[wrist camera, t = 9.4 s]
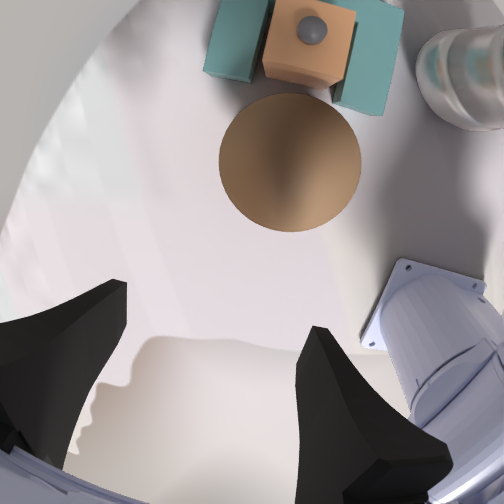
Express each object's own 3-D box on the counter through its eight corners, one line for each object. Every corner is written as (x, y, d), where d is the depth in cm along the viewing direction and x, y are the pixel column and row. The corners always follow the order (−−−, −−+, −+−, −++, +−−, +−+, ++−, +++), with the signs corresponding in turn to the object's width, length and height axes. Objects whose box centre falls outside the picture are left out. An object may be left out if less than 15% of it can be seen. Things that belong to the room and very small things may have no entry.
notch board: (390, 20, 15) (404, 10, 12) (369, 115, 18) (382, 115, 15) (236, -19, 14) (232, -35, 12) (211, 76, 17) (202, 70, 15)
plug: (333, 40, 16) (361, 6, 10) (322, 90, 17) (346, 76, 11) (277, 26, 16) (278, -15, 10) (265, 76, 17) (261, 56, 11)
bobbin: (348, 116, 18) (376, 116, 13) (322, 211, 20) (338, 245, 15) (246, 90, 18) (235, 79, 12) (224, 188, 20) (207, 214, 15)
